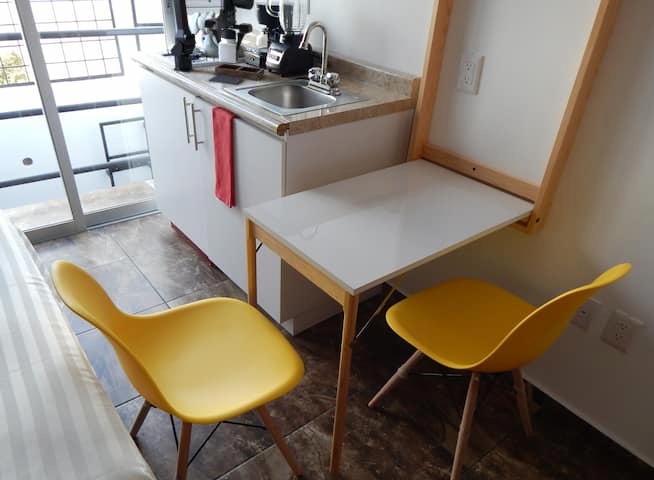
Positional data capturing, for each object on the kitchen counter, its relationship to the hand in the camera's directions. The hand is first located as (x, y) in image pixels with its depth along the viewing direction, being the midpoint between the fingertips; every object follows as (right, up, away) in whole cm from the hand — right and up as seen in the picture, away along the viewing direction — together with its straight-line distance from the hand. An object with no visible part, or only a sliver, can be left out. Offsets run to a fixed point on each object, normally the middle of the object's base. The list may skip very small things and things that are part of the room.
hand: (228, 48), depth 199 cm
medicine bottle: (0, -4, +3) cm, 5 cm away
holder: (+2, -5, +15) cm, 16 cm away
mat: (-2, -11, +6) cm, 12 cm away
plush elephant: (-16, +18, +46) cm, 52 cm away
